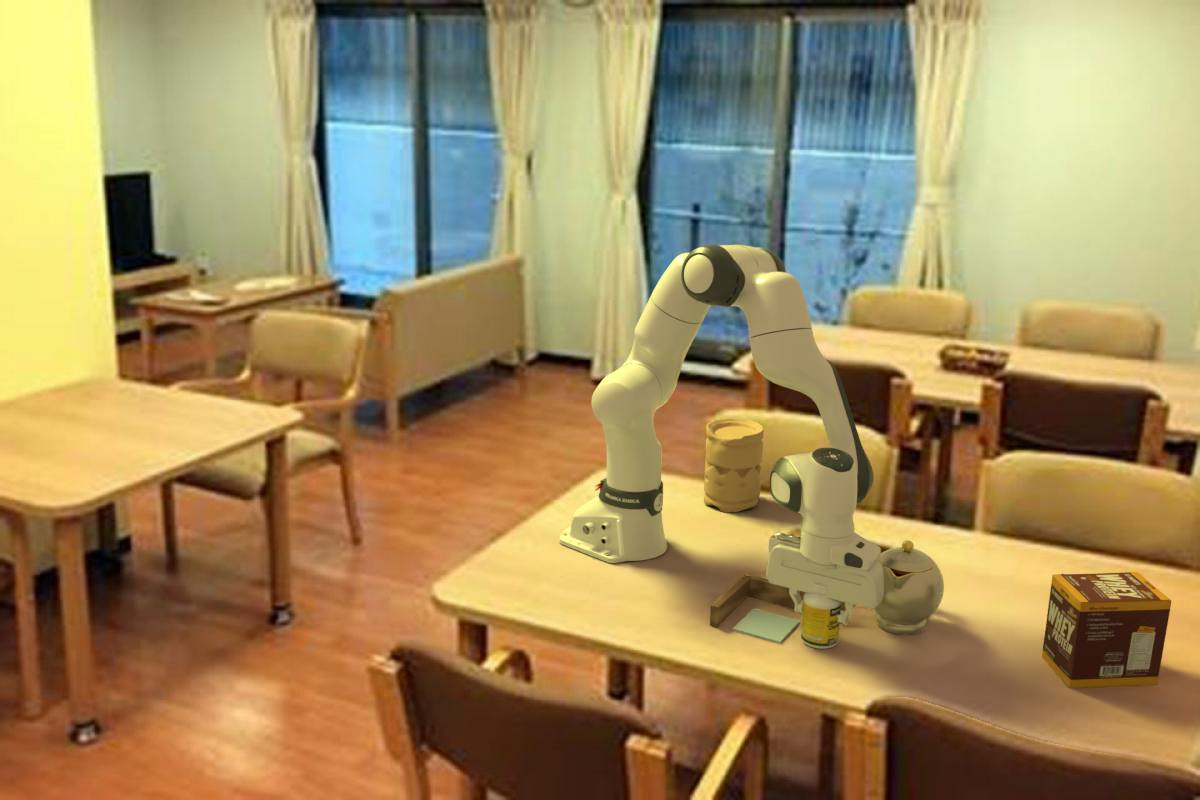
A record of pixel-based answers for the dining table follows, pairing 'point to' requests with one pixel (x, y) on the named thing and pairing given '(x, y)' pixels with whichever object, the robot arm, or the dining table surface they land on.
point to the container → (733, 464)
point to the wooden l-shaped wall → (751, 589)
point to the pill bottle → (820, 618)
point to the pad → (766, 625)
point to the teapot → (908, 589)
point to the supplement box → (1105, 629)
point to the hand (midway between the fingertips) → (821, 617)
